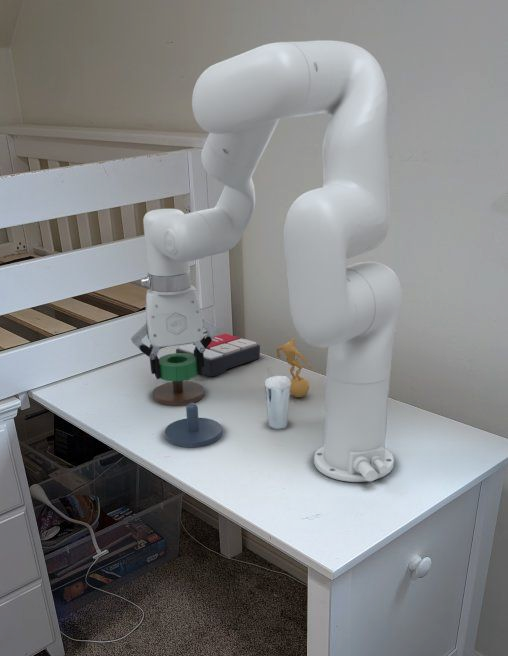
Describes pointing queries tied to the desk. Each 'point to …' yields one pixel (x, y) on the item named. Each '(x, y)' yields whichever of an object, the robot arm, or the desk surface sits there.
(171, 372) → the ring
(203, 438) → the slate peg
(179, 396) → the walnut peg
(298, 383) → the figurine
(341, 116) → the robot arm
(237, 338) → the calculator
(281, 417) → the milkshake
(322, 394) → the desk surface
